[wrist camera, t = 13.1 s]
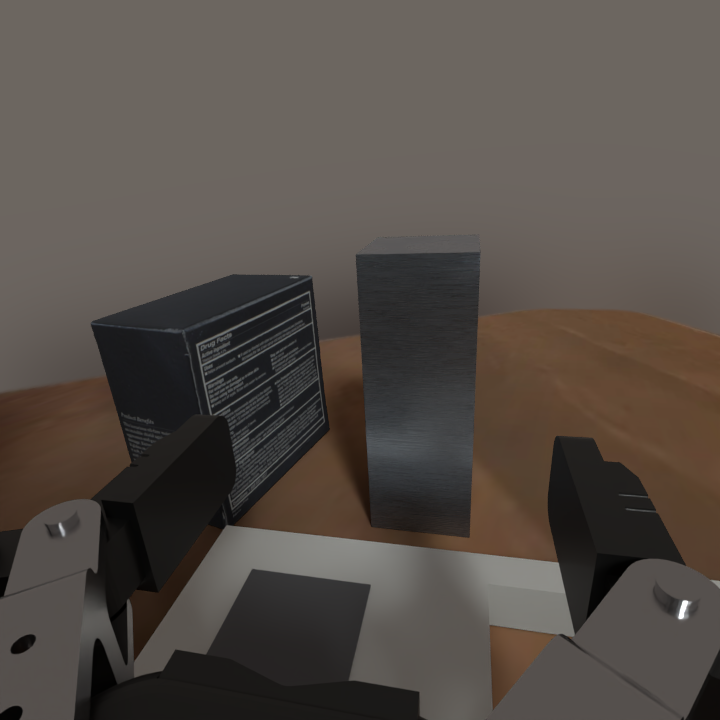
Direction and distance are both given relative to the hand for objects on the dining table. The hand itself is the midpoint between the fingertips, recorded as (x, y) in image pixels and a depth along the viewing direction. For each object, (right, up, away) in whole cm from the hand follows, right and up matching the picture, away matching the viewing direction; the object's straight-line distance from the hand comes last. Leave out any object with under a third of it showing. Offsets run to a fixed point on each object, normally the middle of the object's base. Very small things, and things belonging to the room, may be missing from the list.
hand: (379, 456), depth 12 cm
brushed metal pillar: (+3, -5, +13) cm, 14 cm away
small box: (-7, -4, +17) cm, 19 cm away
